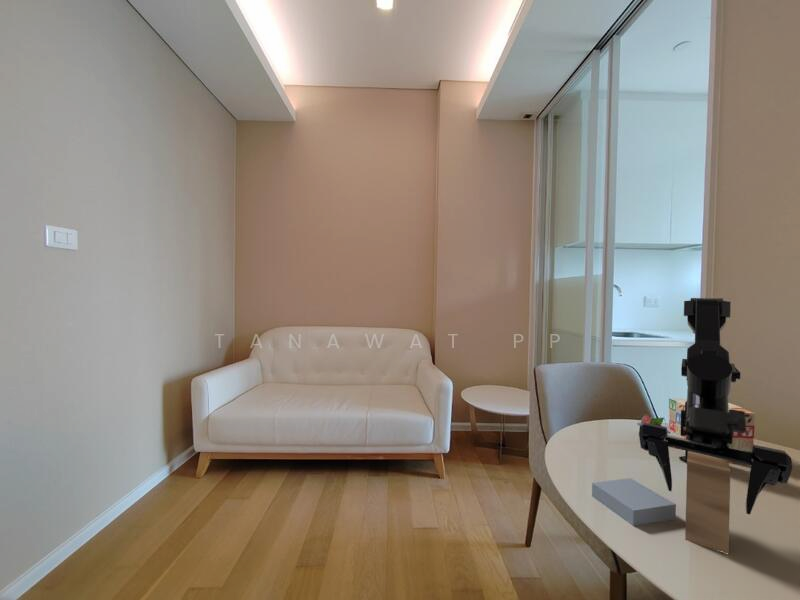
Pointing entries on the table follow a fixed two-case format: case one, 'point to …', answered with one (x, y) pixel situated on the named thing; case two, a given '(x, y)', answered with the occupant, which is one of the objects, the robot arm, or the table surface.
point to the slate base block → (633, 501)
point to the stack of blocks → (739, 439)
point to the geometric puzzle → (652, 421)
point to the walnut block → (708, 501)
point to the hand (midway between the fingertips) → (707, 501)
